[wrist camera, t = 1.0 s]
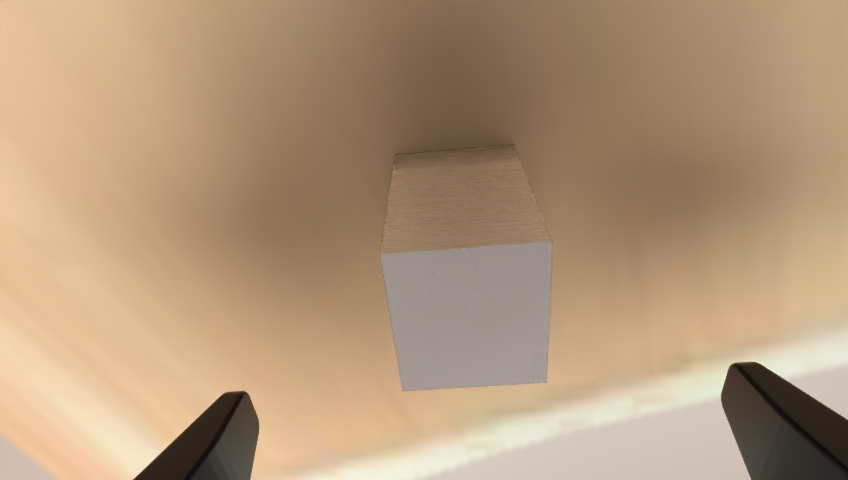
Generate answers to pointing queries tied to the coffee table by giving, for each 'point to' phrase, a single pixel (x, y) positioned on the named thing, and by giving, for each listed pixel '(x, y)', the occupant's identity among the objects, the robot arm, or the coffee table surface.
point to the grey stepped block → (466, 270)
